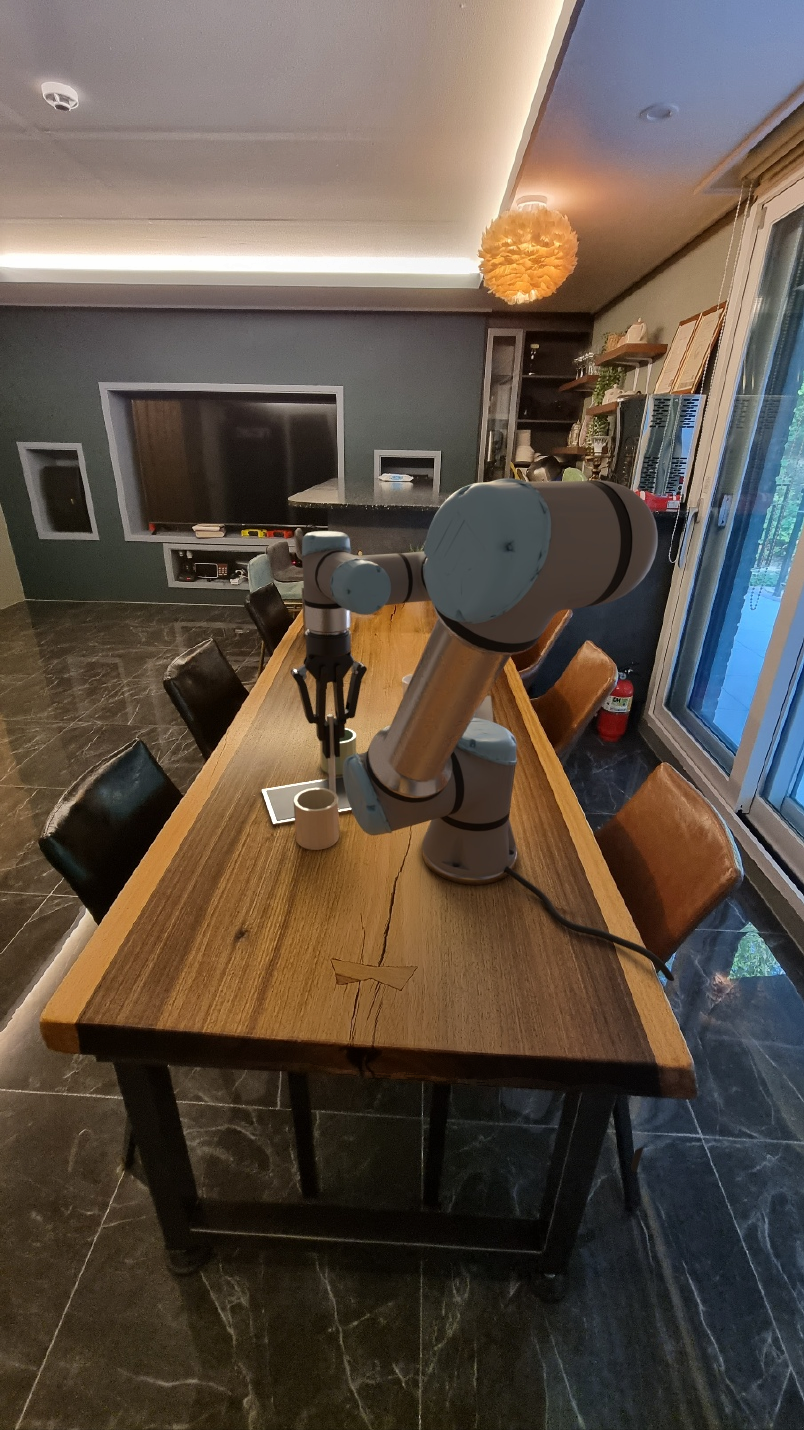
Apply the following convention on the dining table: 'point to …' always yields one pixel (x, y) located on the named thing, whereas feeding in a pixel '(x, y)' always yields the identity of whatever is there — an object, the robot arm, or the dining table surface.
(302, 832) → the pen cup cream
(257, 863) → the dining table surface
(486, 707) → the platform
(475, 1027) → the dining table surface
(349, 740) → the pen cup green
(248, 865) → the dining table surface
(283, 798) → the tablet
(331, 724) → the stylus
